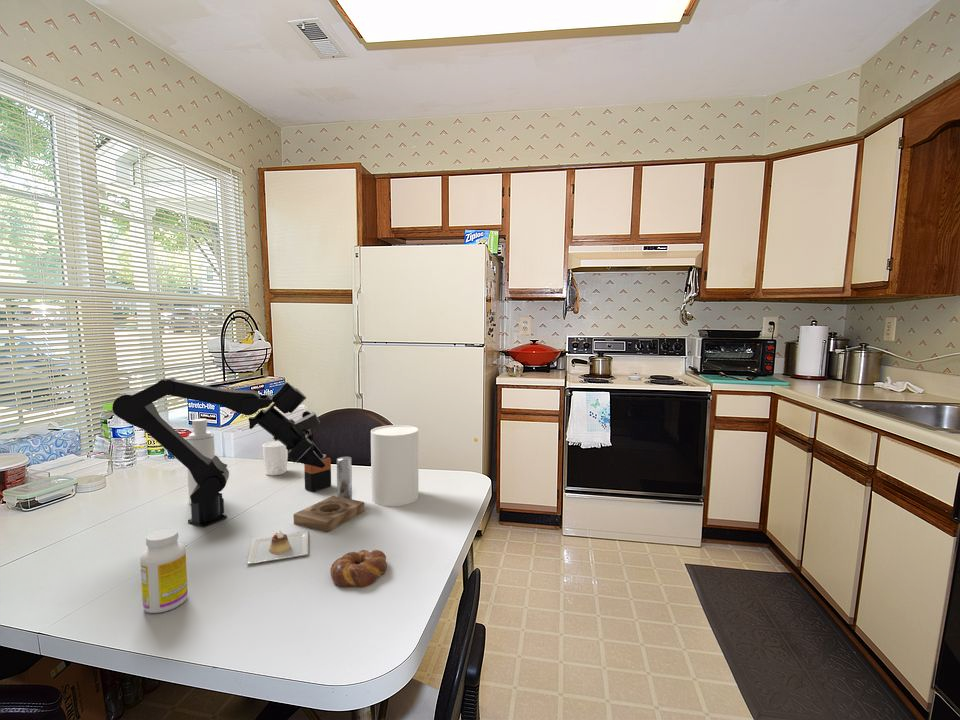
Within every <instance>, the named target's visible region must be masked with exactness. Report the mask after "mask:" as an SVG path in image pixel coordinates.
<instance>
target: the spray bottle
mask: <svg viewBox="0 0 960 720" xmlns="http://www.w3.org/2000/svg"><path fill="white" fill-rule="evenodd" d="M191 425H192V428H193V432H191V433H189V434H188V436H186V437H185V439H186V440H187V441H188V442H189V443H190V444H191V445H192V446H193V447H194V448H195V449H197V450H198V451H199V452H200V453H201V454H202V455H203V456H205V457H208V458H210V459H213V457H214V456H215V455H216V454H215V435H214V434H213V433H212V432H211V431H207V426H208V419H207V418H197V419H192V423H191ZM196 485H197V483H196V482H195V480H194V478H193V476H192V474H191V472H190V471H189V469H188V468H187V488H188V503H189V505H191V498H190V496H191V494H192V492H193V490H194V489H195V487H196Z"/></svg>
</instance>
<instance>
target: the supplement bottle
mask: <svg viewBox="0 0 960 720" xmlns="http://www.w3.org/2000/svg"><path fill="white" fill-rule="evenodd" d="M178 539H179V530H178V529H175V528H164V529H160V530H156V531H154V532H151V533H149V534H148V535H147V536H146V538H145V546H147V549H145V550H144V551H143V552H142V553H141V556H140V559H139V561H140V563H139V564H140V565H139V566H140V580H141V595H142V600H141V601H142V608H143V610H144V612H147V613H149V614H160V613H165V612H167V611H171V610H173V609H176V608H177V607H179V606H180V605H182V604H183V603H184V602H185V601H186V600H187V598H188V594H189V593H188V579H187V578H188V573H187V571H188V570H187V553H186V546H185V545H184V544H183V543H181V542H179V541H178Z"/></svg>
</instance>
